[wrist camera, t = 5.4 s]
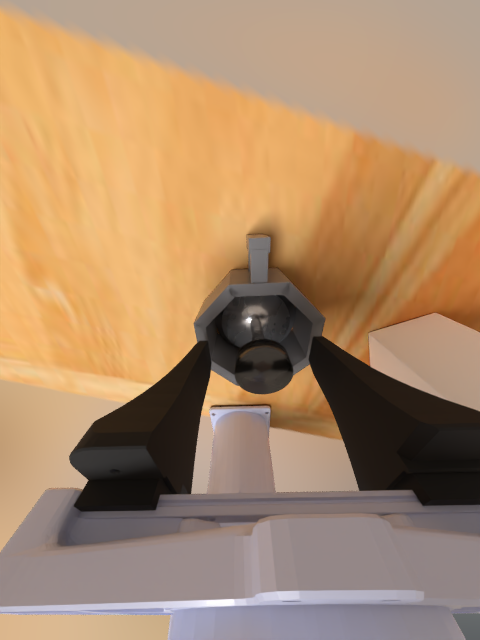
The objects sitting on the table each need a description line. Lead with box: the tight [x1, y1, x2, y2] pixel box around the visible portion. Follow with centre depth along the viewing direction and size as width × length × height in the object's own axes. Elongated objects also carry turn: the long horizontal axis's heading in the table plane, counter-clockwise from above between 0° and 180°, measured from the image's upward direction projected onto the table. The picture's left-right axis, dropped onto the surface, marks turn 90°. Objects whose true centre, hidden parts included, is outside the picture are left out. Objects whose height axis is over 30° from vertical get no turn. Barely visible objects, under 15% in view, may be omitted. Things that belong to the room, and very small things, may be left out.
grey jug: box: [194, 234, 325, 386], centre depth 14 cm, size 12×9×4 cm
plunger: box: [222, 295, 293, 394], centre depth 13 cm, size 6×6×6 cm
